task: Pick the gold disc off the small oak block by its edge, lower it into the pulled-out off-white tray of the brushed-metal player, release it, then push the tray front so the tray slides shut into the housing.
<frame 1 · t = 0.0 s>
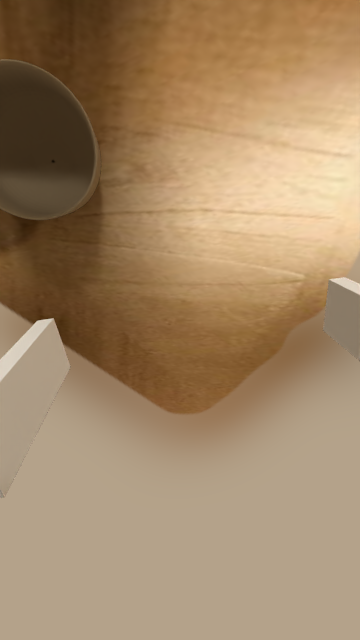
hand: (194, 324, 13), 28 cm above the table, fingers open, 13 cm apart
bowl: (60, 159, 34), on the table
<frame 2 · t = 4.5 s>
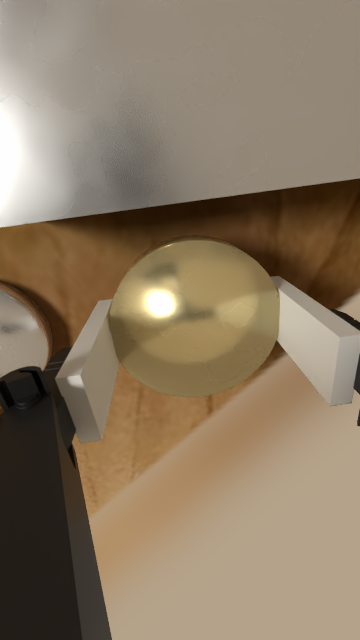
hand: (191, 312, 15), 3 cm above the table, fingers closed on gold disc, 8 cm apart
housing: (145, 43, 12), on the table
gold disc: (192, 315, 14), point 3 cm above the table, touching gripper, oak block
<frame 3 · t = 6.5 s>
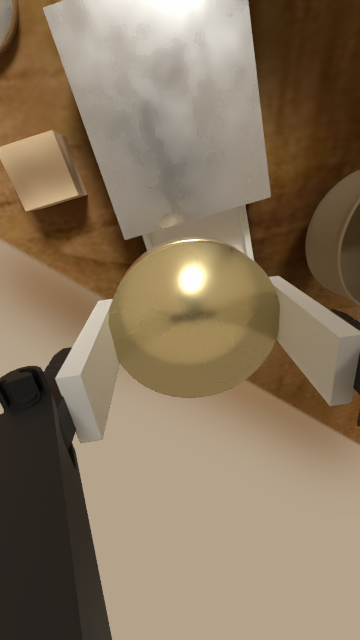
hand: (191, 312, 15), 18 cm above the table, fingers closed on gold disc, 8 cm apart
bowl: (339, 227, 31), on the table
oak block: (52, 174, 27), on the table
housing: (170, 131, 26), on the table
gold disc: (192, 316, 14), point 18 cm above the table, touching gripper
tray: (200, 250, 28), point 2 cm above the table, slide at 10.0 cm
when the fingers open (3 cm above the table, at t = 8.8 s): gold disc drops 2 cm, resting on tray.
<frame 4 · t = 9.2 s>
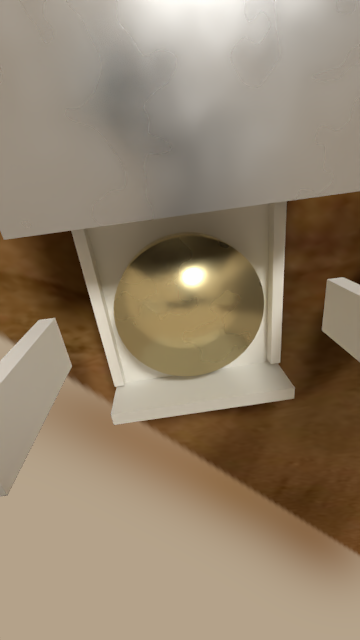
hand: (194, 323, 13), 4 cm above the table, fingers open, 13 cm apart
housing: (154, 24, 12), on the table
gold disc: (187, 303, 16), point 2 cm above the table, touching tray
tray: (187, 280, 15), point 2 cm above the table, slide at 10.0 cm, touching gold disc
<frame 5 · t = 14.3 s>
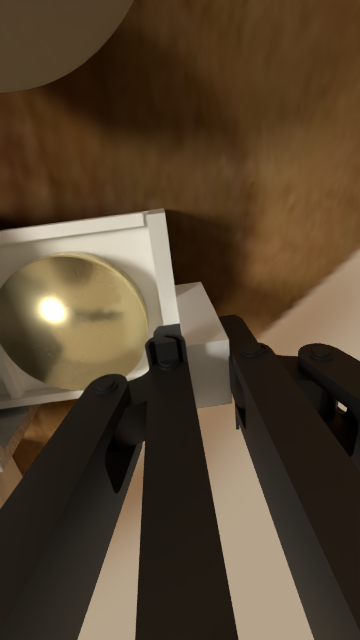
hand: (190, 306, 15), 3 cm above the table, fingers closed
gold disc: (80, 319, 16), point 2 cm above the table, touching tray
tray: (48, 327, 15), point 2 cm above the table, slide at 9.6 cm, touching gold disc, gripper
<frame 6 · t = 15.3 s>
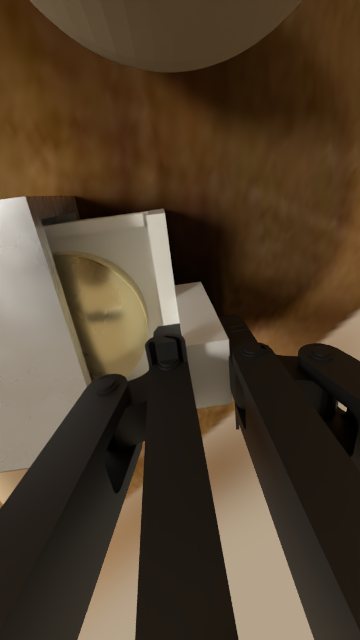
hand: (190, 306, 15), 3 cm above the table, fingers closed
oak block: (52, 451, 23), on the table
gold disc: (80, 319, 16), point 2 cm above the table, touching tray
tray: (48, 327, 16), point 2 cm above the table, slide at 3.8 cm, touching gold disc, gripper
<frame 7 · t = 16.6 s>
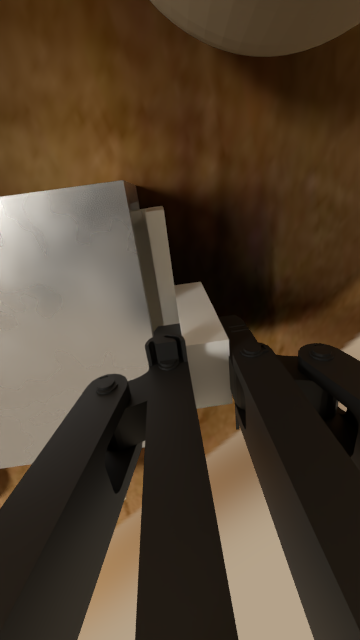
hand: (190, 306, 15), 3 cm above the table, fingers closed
housing: (39, 312, 18), on the table
tray: (48, 324, 16), point 2 cm above the table, slide at 0.4 cm, touching gold disc, gripper
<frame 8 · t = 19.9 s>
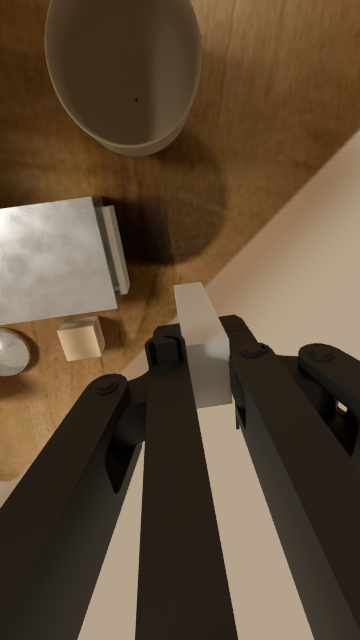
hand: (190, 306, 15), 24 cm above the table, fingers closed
bowl: (134, 97, 31), on the table
oak block: (85, 332, 42), on the table
housing: (58, 255, 37), on the table
tray: (63, 257, 35), point 2 cm above the table, slide at 0.4 cm, touching gold disc
silver disc: (5, 348, 43), on the table
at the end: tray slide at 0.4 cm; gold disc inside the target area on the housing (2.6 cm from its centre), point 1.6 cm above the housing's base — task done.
